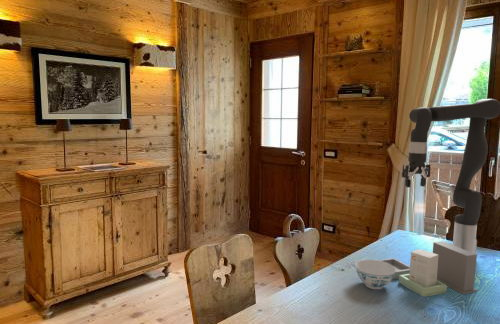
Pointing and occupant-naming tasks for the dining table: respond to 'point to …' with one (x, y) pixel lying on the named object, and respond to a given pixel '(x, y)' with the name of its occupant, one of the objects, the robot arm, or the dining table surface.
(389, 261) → the grey tray
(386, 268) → the chinaware
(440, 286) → the sage tray
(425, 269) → the small box
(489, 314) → the dining table surface
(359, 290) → the dining table surface
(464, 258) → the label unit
